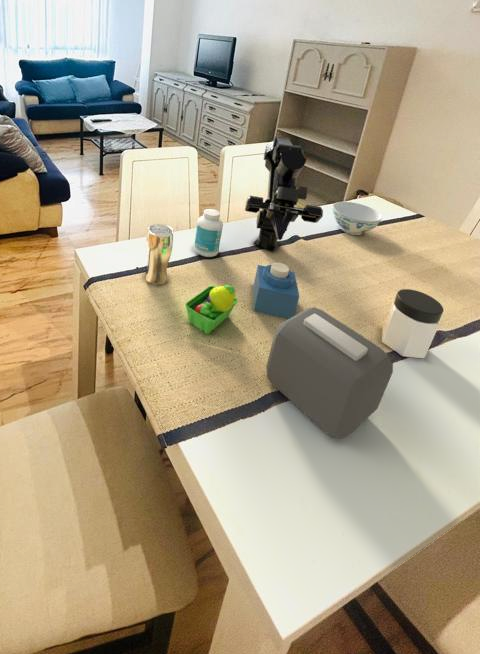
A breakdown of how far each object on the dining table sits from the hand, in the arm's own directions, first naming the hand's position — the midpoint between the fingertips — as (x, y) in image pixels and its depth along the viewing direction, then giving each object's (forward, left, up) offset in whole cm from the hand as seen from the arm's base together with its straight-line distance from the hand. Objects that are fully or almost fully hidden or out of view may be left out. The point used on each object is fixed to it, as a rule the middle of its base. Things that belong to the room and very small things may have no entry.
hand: (279, 239), depth 100 cm
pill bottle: (-1, -20, -14) cm, 25 cm away
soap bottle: (+8, +4, -13) cm, 16 cm away
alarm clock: (+30, +20, -14) cm, 38 cm away
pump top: (+8, +4, -5) cm, 10 cm away
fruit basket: (+25, -4, -14) cm, 29 cm away
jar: (+1, +31, -14) cm, 34 cm away
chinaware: (-51, +10, -14) cm, 54 cm away
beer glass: (+21, -23, -14) cm, 34 cm away
